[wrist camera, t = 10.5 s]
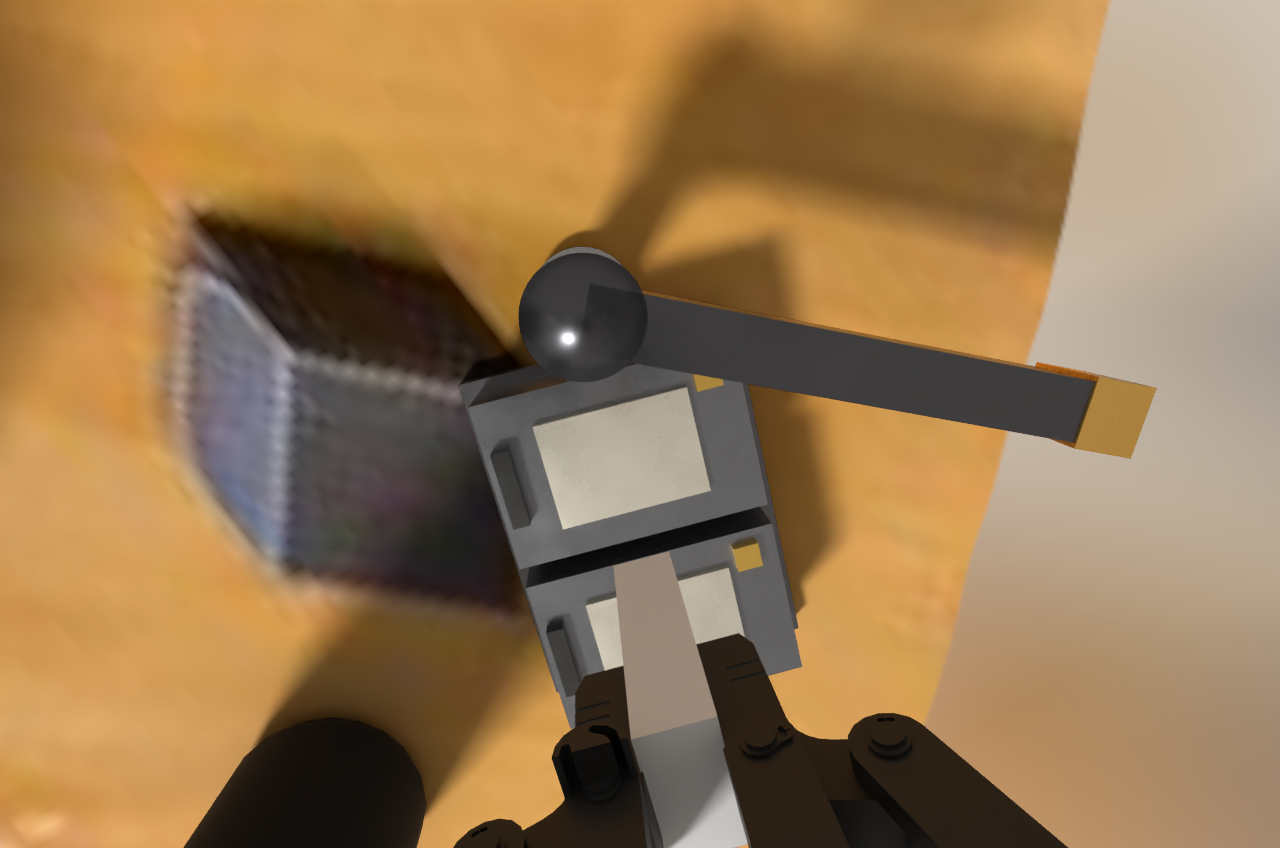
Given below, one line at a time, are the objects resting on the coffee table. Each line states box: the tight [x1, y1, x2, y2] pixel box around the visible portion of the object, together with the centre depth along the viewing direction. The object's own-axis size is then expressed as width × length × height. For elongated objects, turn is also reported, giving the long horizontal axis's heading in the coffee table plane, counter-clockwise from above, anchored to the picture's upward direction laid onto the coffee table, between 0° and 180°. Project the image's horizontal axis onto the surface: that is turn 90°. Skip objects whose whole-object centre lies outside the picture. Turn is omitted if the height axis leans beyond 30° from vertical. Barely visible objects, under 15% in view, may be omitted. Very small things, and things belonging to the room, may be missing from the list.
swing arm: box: [519, 253, 1157, 458], centre depth 26 cm, size 24×4×4 cm, turn 79°
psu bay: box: [458, 363, 802, 729], centre depth 34 cm, size 14×18×6 cm
